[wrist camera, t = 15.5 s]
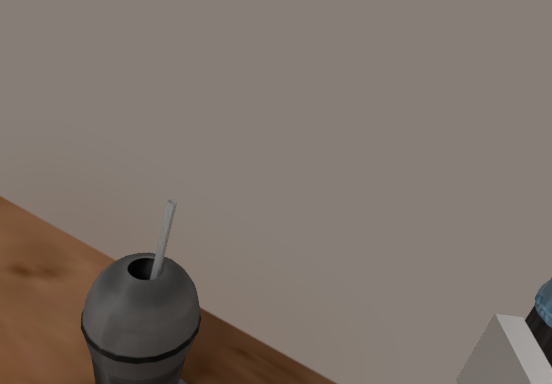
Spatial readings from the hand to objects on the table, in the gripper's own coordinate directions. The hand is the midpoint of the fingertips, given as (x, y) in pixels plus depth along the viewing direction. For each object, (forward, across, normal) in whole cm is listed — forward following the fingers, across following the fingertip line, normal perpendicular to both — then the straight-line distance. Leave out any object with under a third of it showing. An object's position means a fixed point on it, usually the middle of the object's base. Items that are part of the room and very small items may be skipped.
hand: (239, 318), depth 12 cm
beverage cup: (+12, -5, -26) cm, 29 cm away
